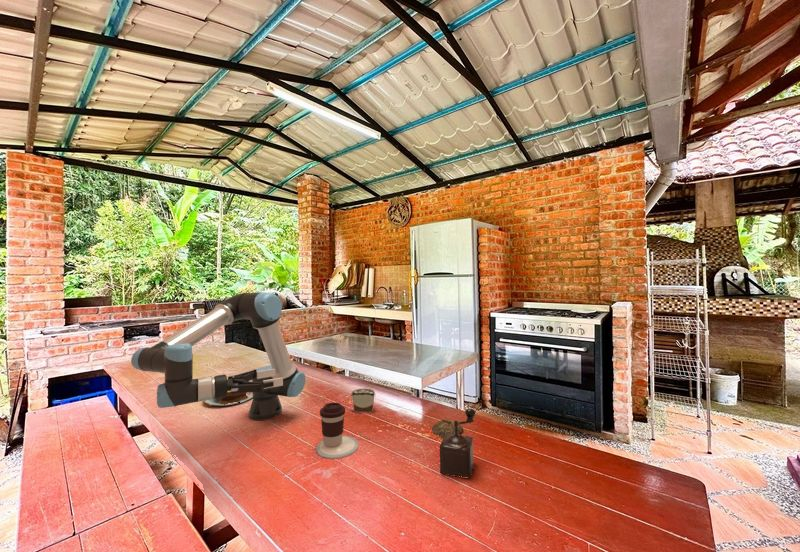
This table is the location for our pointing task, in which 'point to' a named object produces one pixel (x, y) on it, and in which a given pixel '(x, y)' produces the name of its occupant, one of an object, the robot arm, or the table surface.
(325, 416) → the coffee cup
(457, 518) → the table surface
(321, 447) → the saucer
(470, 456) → the manual coffee grinder
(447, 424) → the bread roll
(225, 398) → the food on plate
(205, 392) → the robot arm
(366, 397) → the food container
